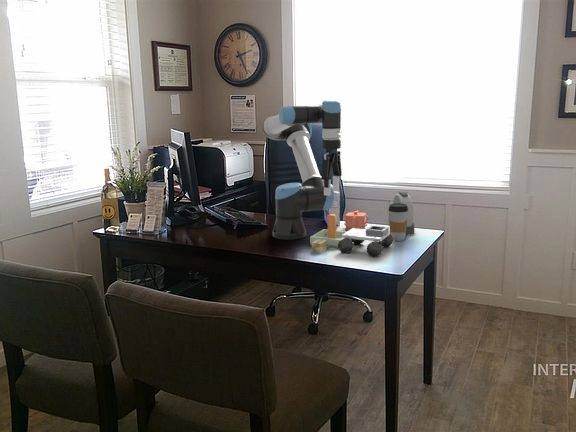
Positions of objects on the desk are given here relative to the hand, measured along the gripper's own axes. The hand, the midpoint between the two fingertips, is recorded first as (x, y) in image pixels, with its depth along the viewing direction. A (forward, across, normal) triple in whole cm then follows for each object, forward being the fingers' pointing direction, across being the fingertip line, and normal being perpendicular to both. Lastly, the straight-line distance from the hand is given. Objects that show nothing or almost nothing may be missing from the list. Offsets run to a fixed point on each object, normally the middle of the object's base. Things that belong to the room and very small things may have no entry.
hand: (331, 193), depth 229 cm
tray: (+21, 0, 0) cm, 21 cm away
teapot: (+22, +26, -1) cm, 34 cm away
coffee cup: (+22, +16, -24) cm, 36 cm away
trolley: (+21, -5, -17) cm, 28 cm away
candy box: (+22, +33, +14) cm, 42 cm away
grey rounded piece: (+22, +30, -22) cm, 43 cm away
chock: (+22, -13, 0) cm, 25 cm away
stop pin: (+20, 0, 0) cm, 20 cm away
